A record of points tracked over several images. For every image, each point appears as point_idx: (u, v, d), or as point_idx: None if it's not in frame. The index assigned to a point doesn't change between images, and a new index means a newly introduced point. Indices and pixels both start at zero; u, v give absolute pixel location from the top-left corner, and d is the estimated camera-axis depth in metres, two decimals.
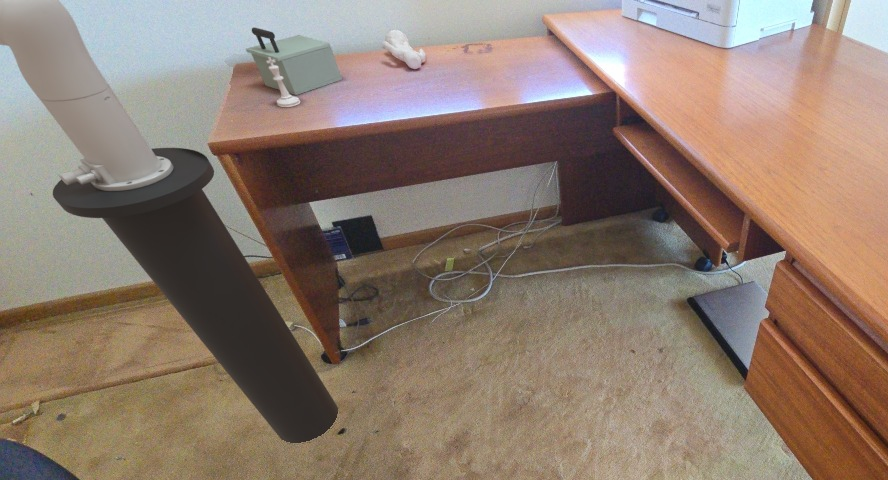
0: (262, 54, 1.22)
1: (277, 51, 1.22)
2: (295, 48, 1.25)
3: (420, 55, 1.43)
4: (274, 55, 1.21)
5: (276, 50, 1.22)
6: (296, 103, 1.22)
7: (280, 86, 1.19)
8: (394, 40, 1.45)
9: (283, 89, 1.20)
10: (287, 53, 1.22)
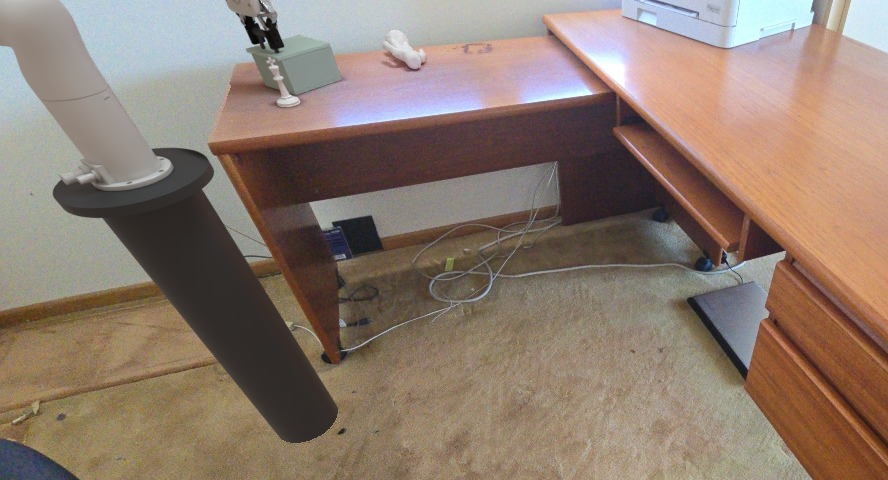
0: (262, 54, 1.22)
1: (277, 51, 1.22)
2: (295, 48, 1.25)
3: (420, 55, 1.43)
4: (274, 55, 1.21)
5: (276, 50, 1.22)
6: (296, 103, 1.22)
7: (280, 86, 1.19)
8: (394, 40, 1.45)
9: (283, 89, 1.20)
10: (287, 53, 1.22)
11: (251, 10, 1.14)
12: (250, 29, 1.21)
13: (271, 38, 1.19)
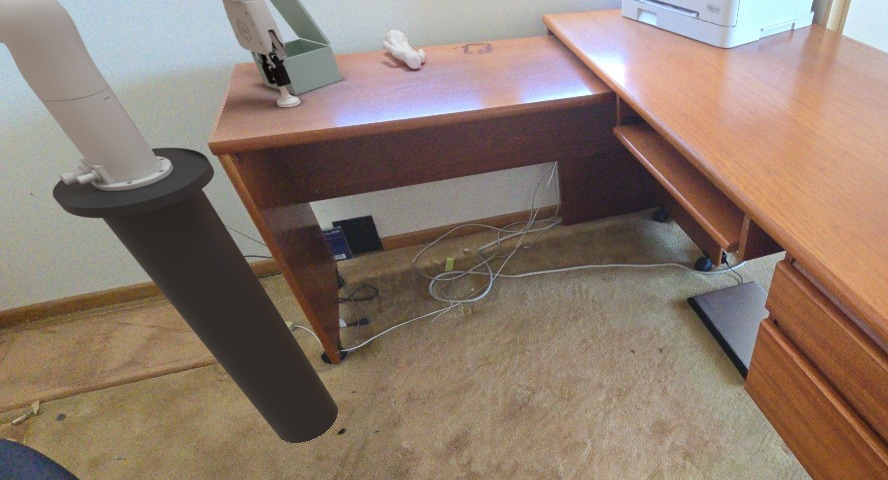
0: None
1: None
2: None
3: (420, 55, 1.43)
4: None
5: None
6: (296, 103, 1.22)
7: None
8: (394, 40, 1.45)
9: (283, 89, 1.20)
10: None
11: (263, 48, 1.10)
12: (267, 69, 1.17)
13: (278, 75, 1.17)
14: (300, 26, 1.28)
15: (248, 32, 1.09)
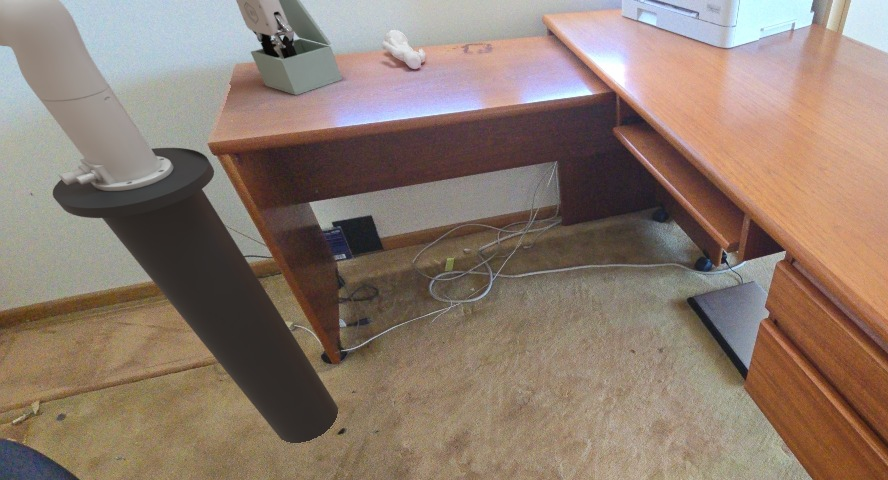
0: None
1: None
2: None
3: (420, 55, 1.43)
4: None
5: None
6: None
7: None
8: (394, 40, 1.45)
9: None
10: None
11: (269, 29, 1.18)
12: (266, 46, 1.25)
13: (288, 55, 1.23)
14: (300, 26, 1.28)
15: (255, 14, 1.17)
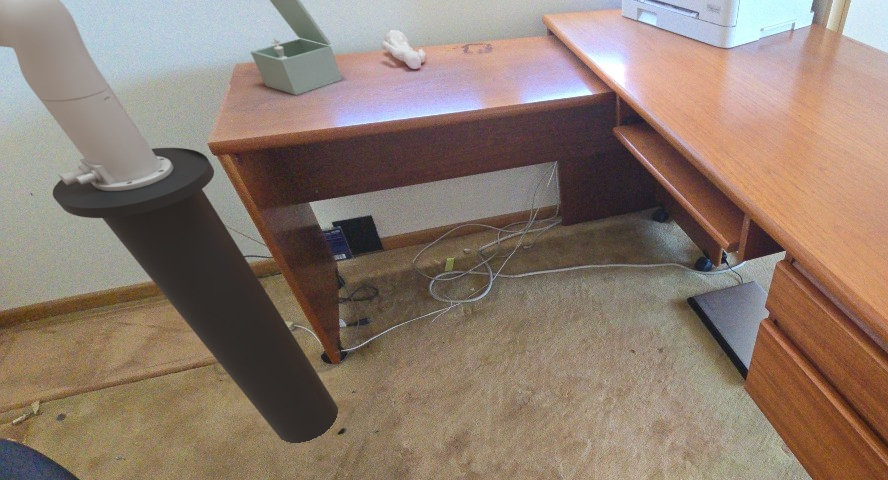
0: None
1: None
2: None
3: (420, 55, 1.43)
4: None
5: None
6: None
7: None
8: (393, 40, 1.45)
9: None
10: None
11: None
12: None
13: None
14: (300, 26, 1.28)
15: None
